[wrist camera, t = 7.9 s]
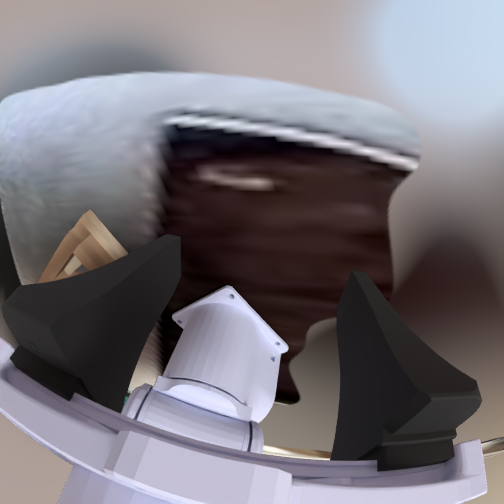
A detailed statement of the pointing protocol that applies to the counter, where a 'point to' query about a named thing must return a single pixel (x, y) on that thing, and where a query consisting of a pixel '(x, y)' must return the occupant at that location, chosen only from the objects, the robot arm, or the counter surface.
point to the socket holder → (83, 249)
